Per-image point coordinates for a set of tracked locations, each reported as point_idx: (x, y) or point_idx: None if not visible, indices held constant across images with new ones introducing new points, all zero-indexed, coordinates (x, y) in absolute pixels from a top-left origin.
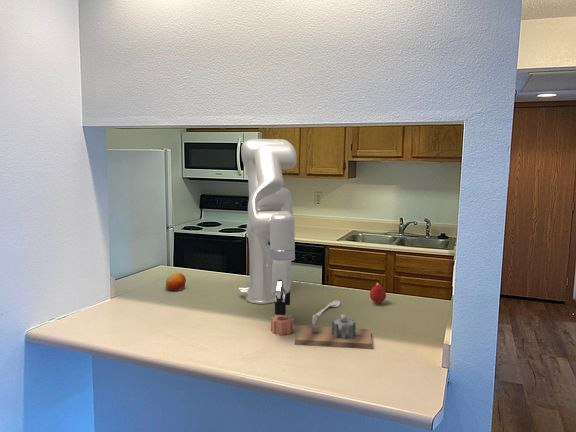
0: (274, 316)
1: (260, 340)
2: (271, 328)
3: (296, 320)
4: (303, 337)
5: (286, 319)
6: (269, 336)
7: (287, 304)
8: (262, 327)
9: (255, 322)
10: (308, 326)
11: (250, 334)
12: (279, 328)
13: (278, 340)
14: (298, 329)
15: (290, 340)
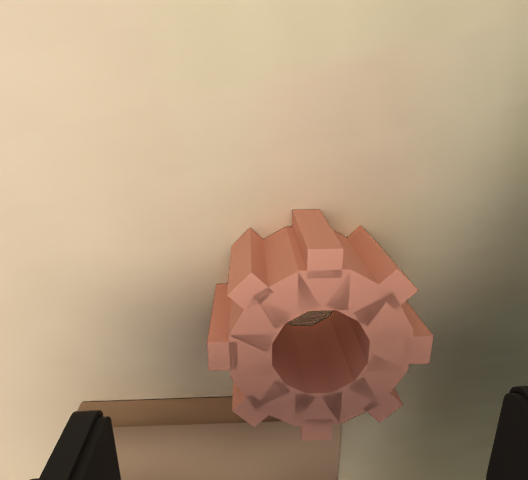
0: (392, 267)
1: (78, 162)
2: (295, 220)
3: (521, 356)
4: (121, 472)
5: (301, 391)
6: (178, 219)
7: (494, 470)
8: (366, 120)
9: (494, 19)
10: (325, 476)
11: (185, 38)
12: (211, 316)
13: (119, 296)
14: (259, 428)
15: (142, 370)
